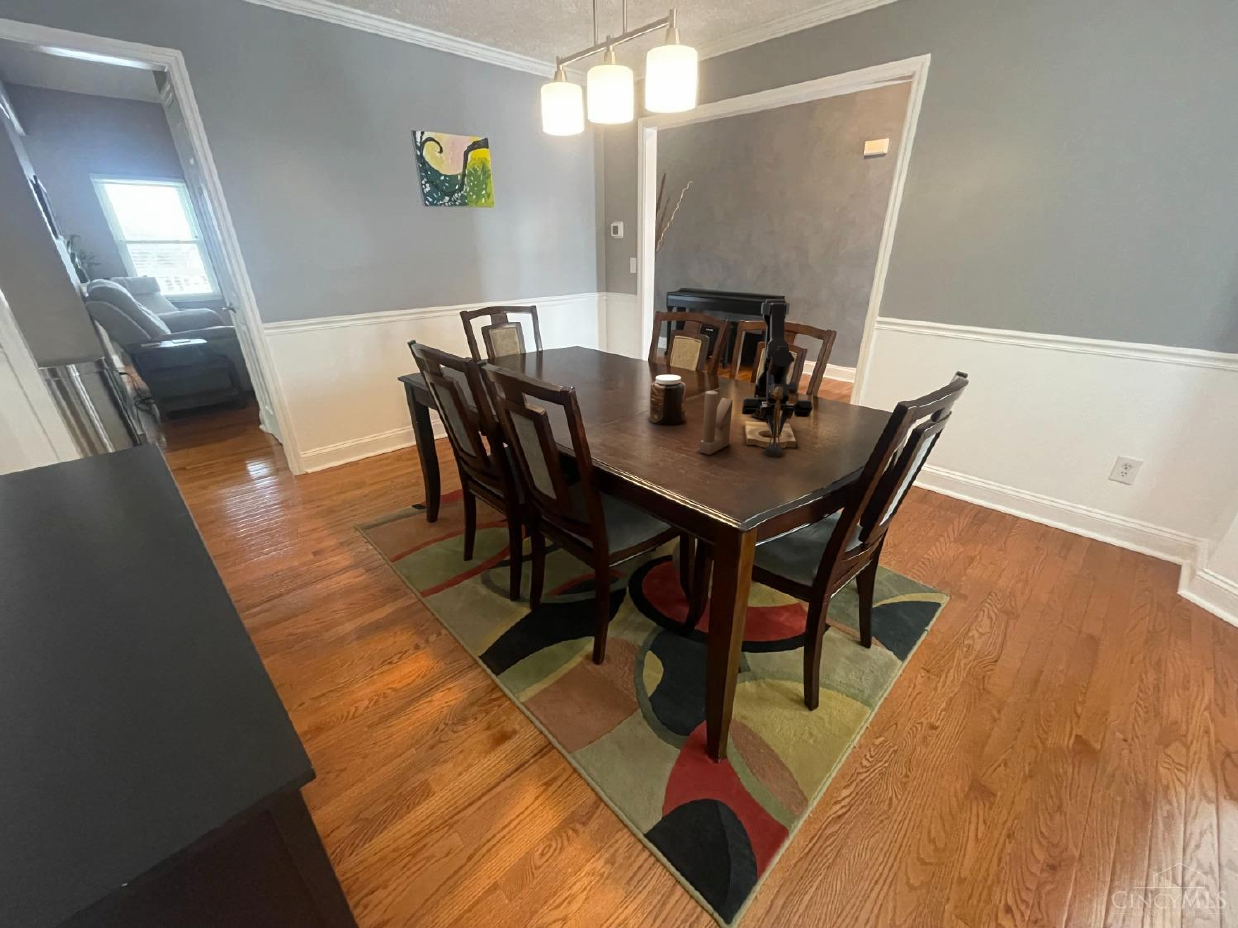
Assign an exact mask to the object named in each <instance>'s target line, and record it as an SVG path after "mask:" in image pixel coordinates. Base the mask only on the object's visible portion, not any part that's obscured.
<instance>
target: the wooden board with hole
mask: <svg viewBox="0 0 1238 928" xmlns="http://www.w3.org/2000/svg"><path fill="white" fill-rule="evenodd" d="M774 426H775V425H774ZM792 429H793V428H792V427H791V424H790V423H785V424H784V426H783V429H782V432H781V434H780V435H779V440H780V446H781V448H782V449H784V448H796V444H797V440H796V438H795V435H794V432H793V430H792ZM744 433H745V440H746V445H747V446H757V447H759V448H765V449H766V447H767V445H768V444H769V443H770V439H771V435H772V434H771V432H770V430H769V428H768V426H767V424H766V422H765V421H764V422H761V421H745V422H744ZM773 437H774V434H773V436H772V440H771V442H773ZM776 442H777V443H778V425H777V436H776Z"/></svg>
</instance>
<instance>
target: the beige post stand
mask: <svg viewBox="0 0 1238 928" xmlns="http://www.w3.org/2000/svg"><path fill="white" fill-rule="evenodd" d="M718 401H719V392H718V391H715V390H707V391H705V393H704V407H703V408H704V409H703V422H702V437H701V438H702V440H700V442H699V453H702V454H705V455H708V456H711V455H712V454H714V453H716V452H718V451H719V450H722V449H724V448H725V447H727V446H729V444H730V434H731V433H730V432H731V423H732V411H733V399H729V398H724V397H722V398H721V399H720V401H719V402H718Z"/></svg>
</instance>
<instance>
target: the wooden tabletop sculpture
mask: <svg viewBox="0 0 1238 928" xmlns="http://www.w3.org/2000/svg"><path fill="white" fill-rule="evenodd" d="M782 394H783V388H782V387H781V386H778V387H776V388H775V390H774V394H771V398H775V399H776V400H777V403H775V412H774V418H773V425H775V426H774V437H772V436H773V435H771V436H770V438H771V439H770V443H769V444H768V445H767V447H766V448H765V449H764V454H765V456H768V457H772V458H774V457H775V458H779V457H781V456H783V448H781V446H780V440H779V423H780V416H781V411H780V408H781V403H780V399H782V398H783V397H784V395H782ZM777 425H778V443H777V442H776V436H777ZM772 438H773V442H771V440H772Z"/></svg>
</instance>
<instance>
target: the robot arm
mask: <svg viewBox="0 0 1238 928" xmlns="http://www.w3.org/2000/svg"><path fill="white" fill-rule="evenodd" d="M790 305H791V303H790V302H787V301H786V299H785V298H784V299H782V298H781V299H780V298H779V299H778V298H777V299H774V298H766V299H765V302H762V303H761V309H760V314H761V315H762V322H763V323H764V325H765V327H766V328H765V329H766V330H765V340H764V341H765V343H764V351H763V360H762V361H763V365H762V372H761V373H760V375H759V376H758V378H757V381H756V383H754V388H753V394H752V397H745V398H743V401H742V407H741V409H742V410H741V414H742V415H746V416H751V417H752V418H754V419H759V420H762V421H764V423H766V424H767V426H768V428H769V430H770V432H771V434H772V435H773V434H774V425H773V423H774V412H775V403H777V400H776V399H775V398H771V394H774V390H775V388H776V387H778V386H781V387H782V388H783V394H782V395H784V397H783V398H782V399H780V403H781V408H780V412H781V413H780V420H779V435H780V434H781V432H782V429H783V426H784V424H786V423H787V420H791V419H792V416H793V415H794V416H795V417H797V418H808V417H810V415H811V413H812V411H813V409H814V404H813V401H812V400H810V399H797V401H796V403H788V402H789V401H790V395H796V394H797V392H798V383H797V382H796V381H789V382H788V375H789V373H790V370H791V367H792V364H793V363H795V356H794V355H793V354H792V351H790V343H788V341H787V340H786V318H787V316H789V314H790Z"/></svg>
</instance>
